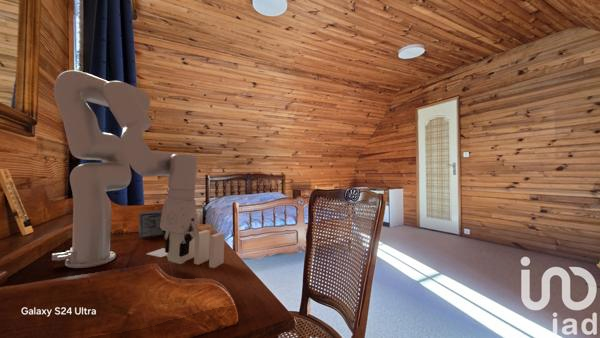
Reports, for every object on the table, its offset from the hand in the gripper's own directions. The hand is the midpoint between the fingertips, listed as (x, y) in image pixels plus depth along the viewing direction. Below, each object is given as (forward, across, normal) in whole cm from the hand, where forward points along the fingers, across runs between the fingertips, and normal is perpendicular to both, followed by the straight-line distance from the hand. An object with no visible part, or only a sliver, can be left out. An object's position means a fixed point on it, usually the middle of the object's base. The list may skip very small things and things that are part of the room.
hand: (176, 252), depth 79 cm
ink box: (+6, -20, +23) cm, 31 cm away
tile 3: (+5, -4, +9) cm, 11 cm away
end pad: (+6, -16, +9) cm, 19 cm away
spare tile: (+3, 0, 0) cm, 3 cm away
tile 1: (+5, +8, +9) cm, 13 cm away
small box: (+7, -37, +23) cm, 44 cm away
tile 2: (+5, +2, +9) cm, 10 cm away
